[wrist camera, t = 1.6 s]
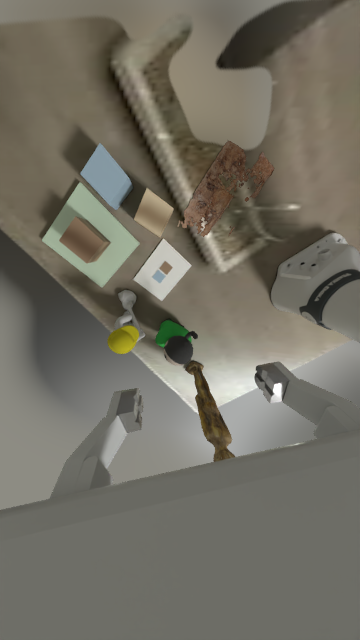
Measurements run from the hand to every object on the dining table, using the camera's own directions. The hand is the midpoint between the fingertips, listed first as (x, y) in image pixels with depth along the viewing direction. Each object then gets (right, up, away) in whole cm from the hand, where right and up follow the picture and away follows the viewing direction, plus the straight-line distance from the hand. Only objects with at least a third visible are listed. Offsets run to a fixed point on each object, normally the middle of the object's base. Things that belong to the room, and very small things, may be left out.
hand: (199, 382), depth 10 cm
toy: (-3, +3, +35) cm, 35 cm away
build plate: (-20, +22, +23) cm, 37 cm away
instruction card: (-6, +16, +27) cm, 32 cm away
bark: (+8, +30, +23) cm, 39 cm away
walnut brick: (-20, +21, +22) cm, 36 cm away
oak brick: (-7, +26, +22) cm, 35 cm away
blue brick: (-14, +31, +19) cm, 39 cm away
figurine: (-14, +7, +31) cm, 35 cm away
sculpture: (+4, -12, +43) cm, 45 cm away
